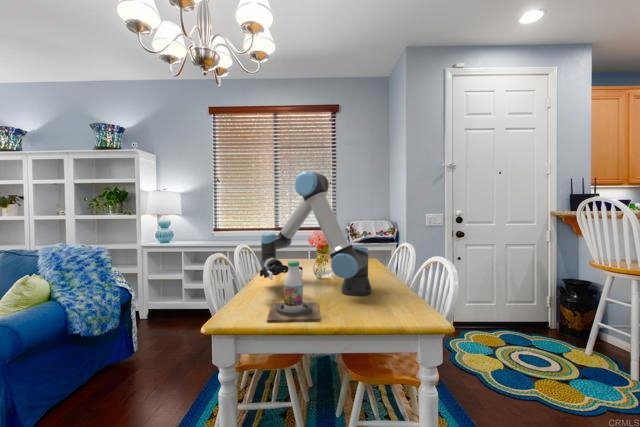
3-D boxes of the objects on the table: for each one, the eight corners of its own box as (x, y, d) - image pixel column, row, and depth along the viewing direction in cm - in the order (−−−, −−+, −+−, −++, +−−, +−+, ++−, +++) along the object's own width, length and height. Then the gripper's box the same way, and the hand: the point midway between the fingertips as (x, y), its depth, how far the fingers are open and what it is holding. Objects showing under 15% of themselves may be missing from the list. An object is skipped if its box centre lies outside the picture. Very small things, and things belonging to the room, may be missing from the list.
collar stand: (317, 304, 140) (317, 299, 139) (320, 321, 120) (320, 314, 120) (271, 305, 138) (271, 299, 138) (266, 322, 118) (266, 315, 118)
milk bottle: (285, 307, 133) (285, 259, 133) (303, 307, 133) (303, 259, 132) (282, 313, 125) (282, 263, 125) (302, 313, 125) (302, 263, 125)
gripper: (297, 271, 162) (313, 280, 142) (248, 276, 152) (258, 286, 132) (297, 257, 162) (313, 264, 142) (248, 260, 152) (258, 268, 132)
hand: (287, 275), depth 137 cm, fingers open, 13 cm apart
